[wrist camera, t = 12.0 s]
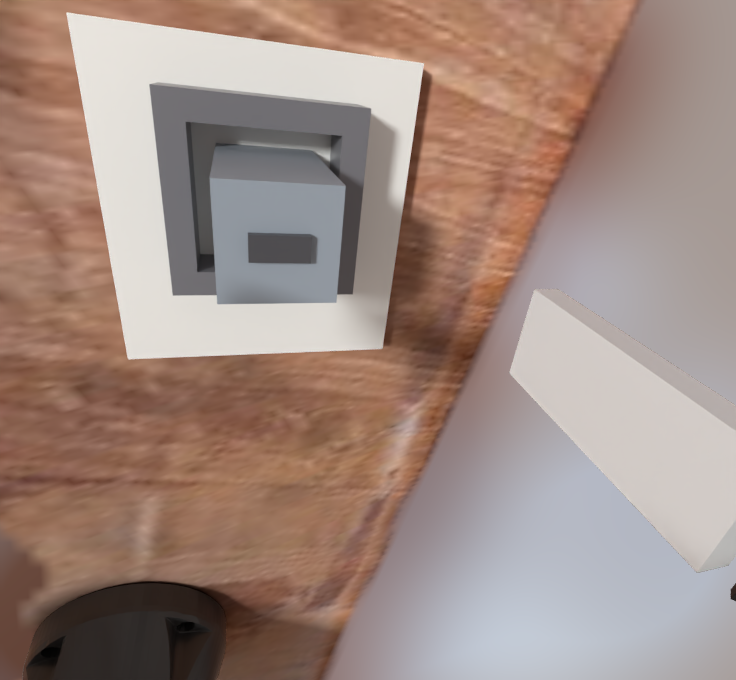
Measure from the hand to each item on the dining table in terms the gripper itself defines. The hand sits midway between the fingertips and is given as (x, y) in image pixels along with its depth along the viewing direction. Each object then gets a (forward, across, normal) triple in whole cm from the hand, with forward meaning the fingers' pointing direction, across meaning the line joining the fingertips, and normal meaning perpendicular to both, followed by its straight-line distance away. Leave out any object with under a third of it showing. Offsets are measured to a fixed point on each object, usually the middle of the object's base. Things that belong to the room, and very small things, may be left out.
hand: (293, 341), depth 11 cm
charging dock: (+15, 0, +1) cm, 15 cm away
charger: (+14, 0, 0) cm, 14 cm away
